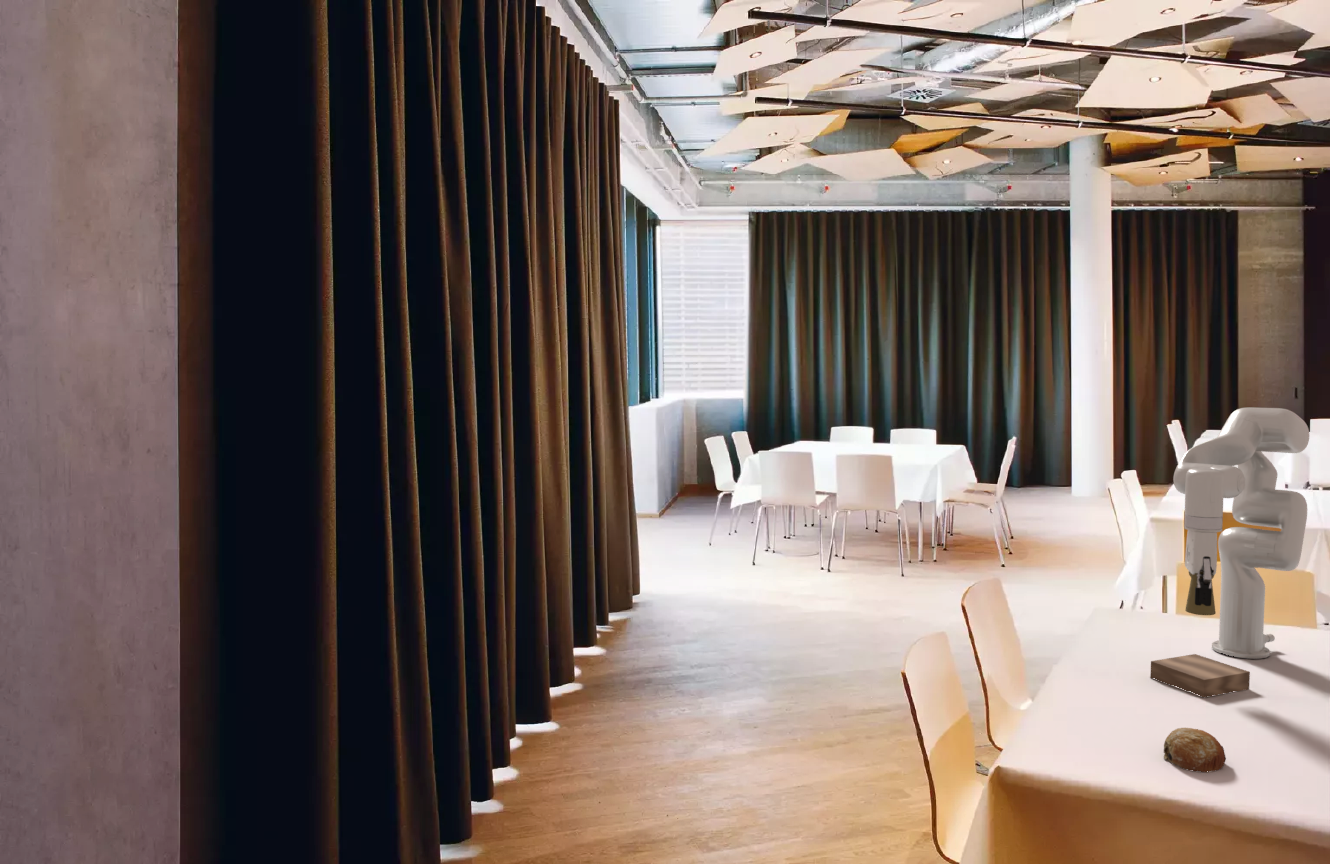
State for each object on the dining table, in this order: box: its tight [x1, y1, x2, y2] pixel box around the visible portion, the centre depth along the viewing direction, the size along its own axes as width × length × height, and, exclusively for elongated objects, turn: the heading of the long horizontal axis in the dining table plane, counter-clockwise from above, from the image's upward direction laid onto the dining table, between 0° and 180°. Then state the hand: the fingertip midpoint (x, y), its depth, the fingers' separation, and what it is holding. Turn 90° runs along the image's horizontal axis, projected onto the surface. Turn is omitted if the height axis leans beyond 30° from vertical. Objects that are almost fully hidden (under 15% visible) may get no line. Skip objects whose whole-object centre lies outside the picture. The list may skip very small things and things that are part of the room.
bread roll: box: [1163, 727, 1227, 773], centre depth 177 cm, size 10×10×8 cm
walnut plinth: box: [1150, 653, 1251, 698], centre depth 218 cm, size 14×14×4 cm
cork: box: [1185, 568, 1216, 616], centre depth 217 cm, size 6×6×11 cm
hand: (1200, 601), depth 217 cm, fingers closed on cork, 4 cm apart
